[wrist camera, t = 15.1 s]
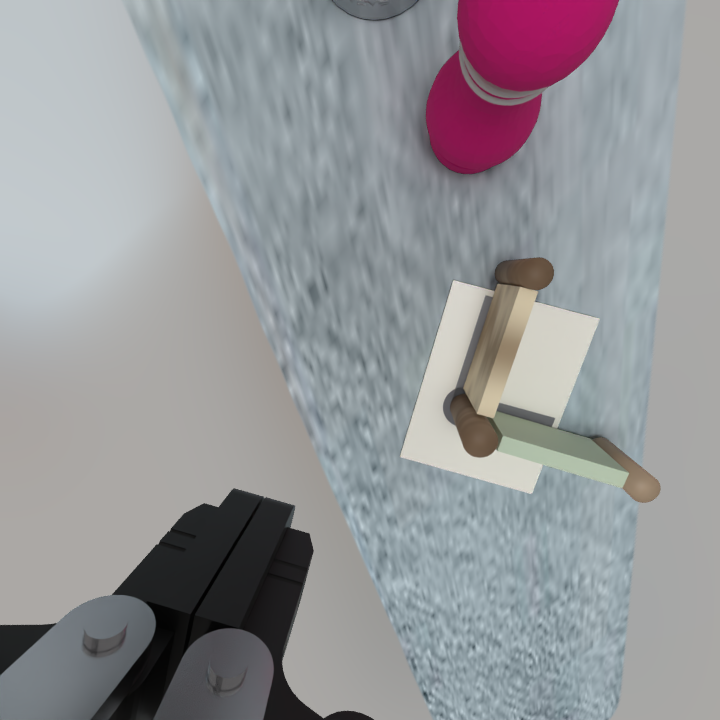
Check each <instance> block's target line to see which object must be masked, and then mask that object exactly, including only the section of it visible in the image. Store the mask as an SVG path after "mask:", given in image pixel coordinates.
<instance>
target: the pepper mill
mask: <svg viewBox="0 0 720 720" xmlns="http://www.w3.org/2000/svg"><path fill="white" fill-rule="evenodd" d="M618 2H619V0H459V2H458V13H457V20H458V30H459V37H460V46H459V50H458V51H457V52H456V53H455V54H454V55H453V56H452V57H451V58H450V59H449V60H448V61H447V62H446V63H445V64H444V65H443V67H442V68H441V70H440V71H439V73H438V74H437V76H436V78H435V81H434V83H433V85H432V88H431V90H430V93H429V97H428V100H427V107H426V123H427V128H428V132H429V135H430V142H431V146H432V149H433V151H434V153H435V155H436V157H437V158H438V160H439V161H440V162H441V163H442V164H443V165H444V166H446V167H447V168H448V169H450V170H452V171H455V172H457V173H462V174H474V173H479V172H482V171H485V170H487V169H489V168H490V167H493V166H495V165H498V164H500V163H502V162H504V161H505V160H507V159H509V158H510V157H511V156H513V155H514V154H515V153H516V152H517V151H518V150H519V149H520V148H521V147H522V145H523V144H524V143H525V142H526V140H527V138H528V137H529V135H530V134H531V132H532V130H533V128H534V126H535V124H536V122H537V119H538V115H539V112H540V106H541V98H542V92H543V91H544V90H545V89H546V88H548V86H551V85H553V84H554V83H556V82H558V81H560V80H562V79H563V78H565V77H567V76H568V75H569V74H570V73H572V72H573V71H574V70H575V69H577V68H578V67H579V66H580V65H581V64H582V63H583V62H584V61H585V60H586V59H587V58H588V57H589V56H590V54H591V53H592V52H593V51H594V50H595V48H596V47H597V45H598V44H599V42H600V41H601V39H602V38H603V36H604V34H605V32H606V31H607V29H608V27H609V25H610V23H611V21H612V19H613V16H614V13H615V10H616V8H617V5H618Z"/></svg>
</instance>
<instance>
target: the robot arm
mask: <svg viewBox="0 0 720 720" xmlns="http://www.w3.org/2000/svg"><path fill="white" fill-rule="evenodd" d="M333 1H334V2H335V3H336V5H337V6H338V7H340V8H341V9H343V10H344V11H346V12H347V13H349V14H351V15H354V16H356V17H359V18H363V19H371V20H377V19H385V18H389V17H392V16H395V15H398V14H400V13H402V12H403V11H405V10H406V9H408V8H410V7H411V6H413V5H414V4H415V3H416V2H417V1H418V0H333ZM294 510H295V506H294V505H291V504H287V503H284V502H280V501H277V500H273V499H270V498H267V497H266V498H264V497H263V496H259V495H256V494H252V493H248V492H245V491H242V490H238V489H233V490H232V491H231V492H230V493H229V495H228V496H227V497H226V498H225V500H224V501H223V502H222V504H221V505H220V506H219V507H215V506H212V505H208V504H205V503H204V504H202V505H200V506H198V507H196V508H194V509H192V510H190V511H188V512H186V513H184V514H183V516H182V517H181V518H180V519H179V520H178V521H177V522H176V524H175V525H174V526H173V527H172V528H171V530H170V532H169V531H168V532H167V534H166V535H165V536H164V537H163V538H162V539H161V540H160V542H159V544H158V545H156V546H155V547H154V548H153V549H152V550H151V552H150V553H149V554H148V555H147V556H146V557H145V558H144V559H143V561H142V562H141V563H140V564H139V565H138V566H137V567H136V569H135V570H134V571H133V572H132V573H131V574H130V575H129V576H128V577H127V579H126V580H125V581H124V582H123V583H122V584H121V585H120V587H118V589H117V590H116V591H115V592H114V593H113V594H112V595H110V596H104V597H99V598H96V599H93V600H90V601H88V602H86V603H83V604H81V605H79V606H78V607H76V608H75V609H73V610H72V611H70V612H69V613H68V614H67V615H65V616H64V617H63V618H62V619H61V620H60V621H59V622H58V623H55V624H47V625H0V720H374V719H372V718H371V717H369V716H366V715H364V714H362V713H358V712H354V711H341V712H336V713H333V714H331V715H329V716H327V717H326V718H324V719H323V718H322V717H321V716H319V715H318V714H317V713H315V712H314V711H313V710H311V709H310V708H309V707H307V706H306V705H305V704H303V703H302V702H301V701H300V700H299V699H298V698H297V697H296V695H295V694H294V693H293V692H292V690H291V689H290V687H289V685H288V683H287V681H286V679H285V676H284V672H283V667H282V660H283V657H284V653H285V650H286V646H287V643H288V640H289V637H290V634H291V630H292V627H293V624H294V620H295V617H296V614H297V610H298V607H299V604H300V600H301V596H302V592H303V589H304V585H305V581H306V577H307V574H308V570H309V566H310V562H311V559H312V555H313V546H312V542H311V538H310V534H309V533H305V532H302V531H299V530H295V529H291V528H290V527H291V523H292V519H293V515H294Z"/></svg>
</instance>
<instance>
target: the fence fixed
mask: <svg viewBox="0 0 720 720" xmlns="http://www.w3.org/2000/svg"><path fill="white" fill-rule="evenodd" d="M553 276H554V269H553V266H552V264H551V263H550V262H549V261H548V260H546V259H544V258H528V259H518V260H508V261H503V262H501V263H500V264H499V265H498V266H497V268H496V270H495V278H496V280H497V282H498V283H499V284H497V286H496V289H495V292H494V296H493V299H492V302H491V305H490V308H489V311H488V314H487V317H486V320H485V323H484V326H483V329H482V332H481V335H480V338H479V341H478V344H477V348H476V351H475V354H474V357H473V360H472V363H471V366H470V369H469V372H468V375H467V378H466V381H465V384H464V387H463V389H464V391H465V393H466V394H460V395H458V396H456V397H455V398H454V399H453V400H452V402H451V404H450V411H451V414H452V417H453V419H454V422H455V425H456V428H457V431H458V433H459V436H460V439H461V442H462V444H463V447H464V449H465V451H466V452H467V453H468V454H469V455H471V456H473V457H477V458H483V457H487V456H489V455H491V454H492V453H493V452H494V451H495V450H496V448H497V446H498V436H497V434H496V432H495V430H494V429H493V427H492V425H491V424H490V422H489V420H488V419H487V417H490V418H494V416H495V413H496V411H497V408H498V405H499V402H500V399H501V396H502V393H503V391H504V388H505V385H506V382H507V379H508V376H509V373H510V371H511V368H512V365H513V362H514V359H515V356H516V353H517V351H518V348H519V345H520V342H521V339H522V336H523V333H524V331H525V328H526V325H527V322H528V319H529V316H530V313H531V311H532V308H533V305H534V302H535V299H536V296H537V293H538V291H534V290H540V289H543V288H545V287H547V286H548V285H549V284H550V283H551V281H552V279H553ZM486 416H487V417H486Z"/></svg>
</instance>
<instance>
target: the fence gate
mask: <svg viewBox="0 0 720 720" xmlns="http://www.w3.org/2000/svg"><path fill="white" fill-rule="evenodd" d="M486 417H487V416H486ZM487 419H488V420H489V422H490V424H491V425H492V427H493V429H494V430H495V432H496V434H497V436H498V446H497V448H496V450H497V451H499V452H502V453H505V454H509V455H512V456H516V457H519V458H522V459H526V460H529V461H532V462H536V463H539V464H542V465H546V466H549V467H553V468H556V469H559V470H563V471H566V472H569V473H573V474H576V475H579V476H583V477H586V478H590V479H593V480H596V481H600V482H603V483H606V484H610V485H613V486H616V487H620V488H623V489H624V490H625V491H626V492H627V493H628V494H629V495H630V496H631V497H632V498H633V499H634V500H635V501H638V502H642V503H646V502H650V501H652V500H654V499H655V498H656V497H657V496H658V495H659V493H660V483H659V482H658V480H657V479H655V478H654V477H653V476H652V475H651V474H649V473H648V472H647V471H646V470H644V469H643V468H642V467H641V466H639V465H638V464H637V463H636V462H635V461H633V460H632V459H631V458H630V457H628V456H627V455H626V454H625V453H623V452H622V451H621V450H620V449H619V448H617V447H616V446H615V445H614V444H612V443H611V442H610V441H609V440H607V439H606V438H603V437H598V438H594V439H592V440H591V439H590V438H586V437H583V436H580V435H576V434H573V433H569V432H566V431H563V430H559V429H556V428H552V427H549V426H546V425H542V424H539V423H535V422H532V421H529V420H525V419H522V418H518V417H515V416H512V415H508V414H505V413H501V412H498V411H496V413H495V416H494V418H490V417H487Z"/></svg>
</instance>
